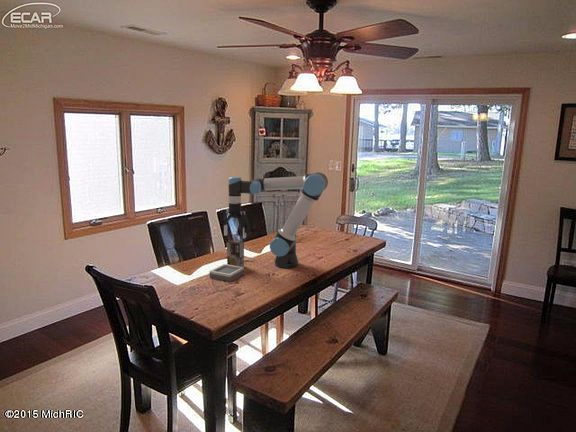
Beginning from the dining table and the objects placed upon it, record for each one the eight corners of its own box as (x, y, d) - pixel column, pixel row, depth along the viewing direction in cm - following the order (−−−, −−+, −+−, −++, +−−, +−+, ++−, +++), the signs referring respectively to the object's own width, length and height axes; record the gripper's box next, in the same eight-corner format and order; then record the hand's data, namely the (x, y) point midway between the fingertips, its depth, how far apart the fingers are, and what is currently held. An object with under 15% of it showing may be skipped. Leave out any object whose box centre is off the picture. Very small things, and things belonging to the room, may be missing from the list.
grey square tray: (244, 273, 247) (244, 267, 246) (230, 281, 233) (229, 275, 233) (224, 269, 252) (224, 263, 252) (209, 277, 239) (209, 271, 238)
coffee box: (244, 266, 260) (244, 241, 257) (240, 269, 254) (239, 243, 251) (231, 264, 263) (231, 239, 259) (226, 267, 257) (226, 242, 254)
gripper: (255, 203, 248) (255, 237, 253) (221, 199, 259) (221, 232, 263) (249, 205, 242) (249, 240, 246) (214, 201, 252) (214, 235, 256)
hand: (235, 236), depth 254 cm, fingers open, 13 cm apart
